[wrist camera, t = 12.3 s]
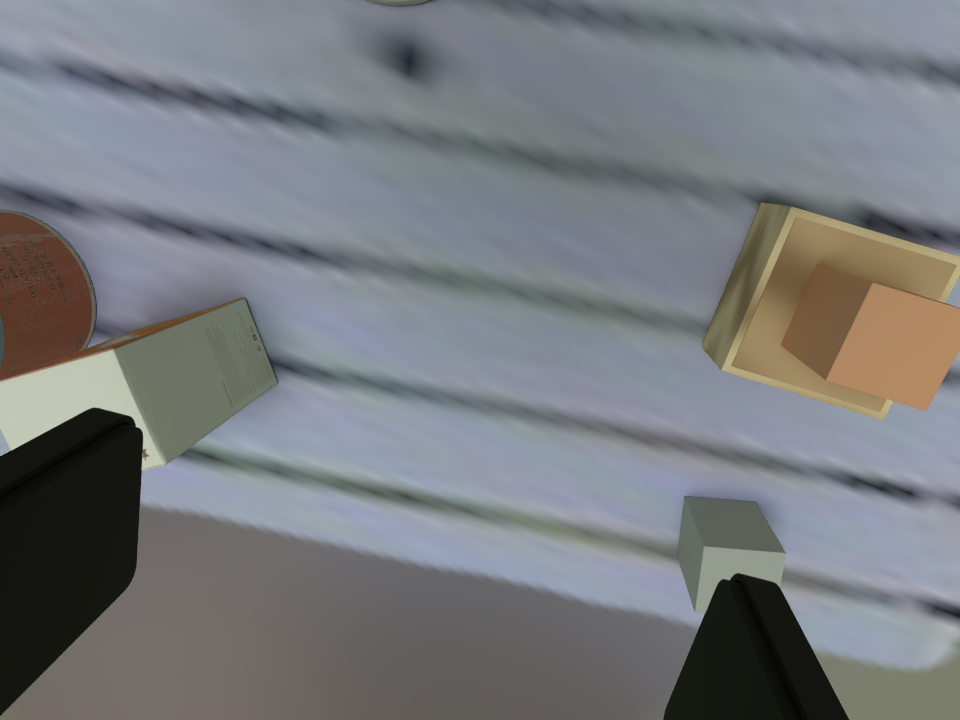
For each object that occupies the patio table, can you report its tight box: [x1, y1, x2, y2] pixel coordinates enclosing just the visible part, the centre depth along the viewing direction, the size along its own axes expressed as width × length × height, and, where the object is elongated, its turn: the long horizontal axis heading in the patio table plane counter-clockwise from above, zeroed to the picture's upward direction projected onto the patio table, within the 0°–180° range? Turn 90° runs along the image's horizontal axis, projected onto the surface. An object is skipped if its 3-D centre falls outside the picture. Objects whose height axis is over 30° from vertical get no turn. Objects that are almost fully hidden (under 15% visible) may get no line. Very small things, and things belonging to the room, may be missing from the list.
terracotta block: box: [781, 264, 960, 411], centre depth 30 cm, size 4×4×6 cm
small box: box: [0, 298, 277, 471], centre depth 37 cm, size 8×6×13 cm
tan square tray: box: [701, 202, 960, 420], centre depth 35 cm, size 9×9×5 cm
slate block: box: [677, 496, 786, 614], centre depth 40 cm, size 4×4×6 cm
